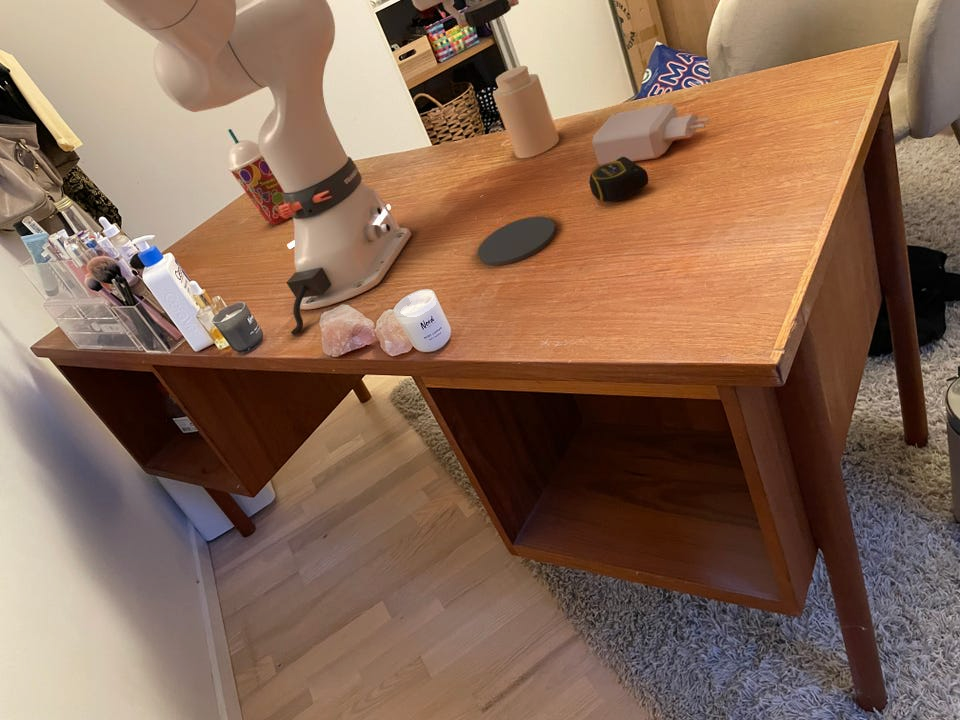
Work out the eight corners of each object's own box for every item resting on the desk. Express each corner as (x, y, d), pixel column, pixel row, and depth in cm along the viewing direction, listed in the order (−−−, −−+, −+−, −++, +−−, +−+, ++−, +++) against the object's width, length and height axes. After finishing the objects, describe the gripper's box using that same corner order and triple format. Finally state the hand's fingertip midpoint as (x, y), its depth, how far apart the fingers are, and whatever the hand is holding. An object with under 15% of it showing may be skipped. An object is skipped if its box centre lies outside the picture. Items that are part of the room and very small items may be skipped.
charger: (699, 155, 91) (599, 169, 101) (720, 124, 97) (623, 139, 106) (692, 122, 89) (590, 139, 98) (713, 91, 94) (614, 110, 103)
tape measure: (653, 191, 88) (646, 164, 86) (604, 213, 89) (596, 187, 87) (634, 176, 94) (627, 151, 92) (588, 196, 94) (580, 172, 92)
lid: (480, 17, 110) (474, 2, 109) (517, 3, 107) (512, -12, 105) (462, 31, 106) (456, 16, 105) (500, 18, 102) (495, 2, 101)
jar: (559, 147, 114) (533, 70, 107) (514, 163, 116) (486, 89, 109) (559, 131, 120) (534, 57, 113) (516, 146, 123) (490, 75, 116)
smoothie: (291, 222, 140) (236, 130, 129) (259, 232, 143) (202, 144, 132) (306, 203, 146) (255, 115, 136) (275, 214, 149) (222, 128, 139)
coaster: (556, 249, 86) (554, 245, 86) (475, 274, 89) (474, 270, 89) (556, 211, 95) (554, 207, 95) (483, 235, 98) (481, 232, 98)
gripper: (522, -116, 98) (553, -15, 106) (396, -55, 104) (433, 36, 112) (520, -114, 93) (553, -8, 101) (388, -50, 99) (427, 45, 107)
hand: (489, 16), depth 106 cm, fingers closed on lid, 7 cm apart
